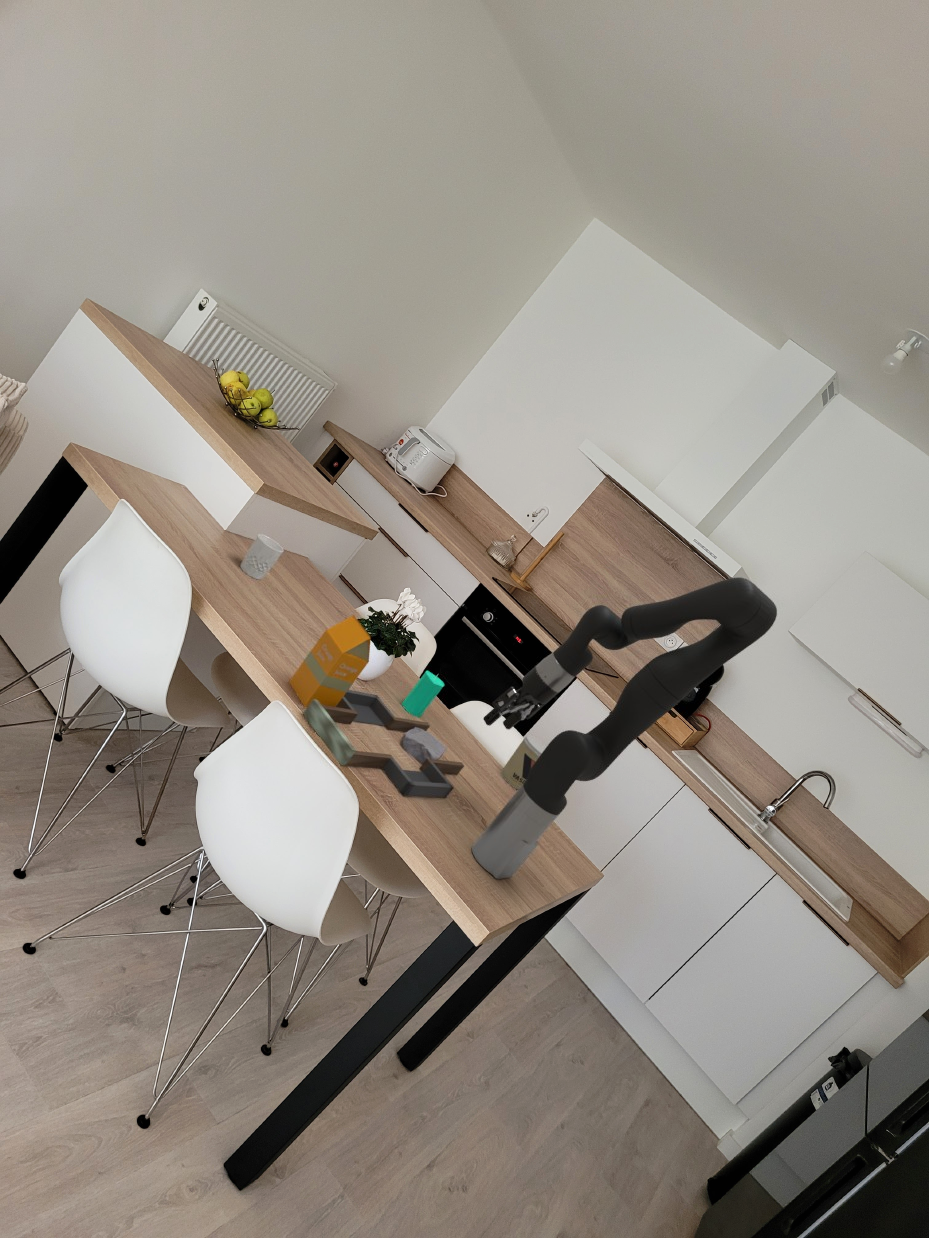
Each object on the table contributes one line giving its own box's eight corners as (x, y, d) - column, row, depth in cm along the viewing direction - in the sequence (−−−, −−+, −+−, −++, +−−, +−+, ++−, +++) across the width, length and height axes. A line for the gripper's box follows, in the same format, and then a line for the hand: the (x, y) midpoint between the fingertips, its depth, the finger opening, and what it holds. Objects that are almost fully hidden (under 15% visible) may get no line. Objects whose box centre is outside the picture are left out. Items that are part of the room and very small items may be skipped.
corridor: (457, 775, 194) (467, 762, 193) (340, 765, 161) (352, 750, 160) (420, 731, 202) (429, 719, 202) (302, 713, 169) (313, 699, 168)
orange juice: (304, 706, 173) (357, 632, 168) (288, 681, 178) (339, 609, 174) (331, 713, 178) (384, 642, 174) (315, 688, 184) (366, 619, 180)
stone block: (393, 752, 187) (432, 772, 186) (402, 733, 186) (441, 754, 185) (405, 740, 199) (441, 759, 198) (413, 722, 198) (450, 742, 197)
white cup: (232, 563, 219) (252, 533, 217) (247, 563, 226) (266, 534, 224) (254, 581, 217) (275, 551, 215) (268, 580, 225) (288, 551, 223)
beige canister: (503, 783, 209) (532, 748, 206) (494, 763, 217) (522, 729, 215) (531, 798, 213) (559, 763, 210) (521, 777, 221) (548, 744, 219)
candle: (398, 702, 210) (425, 666, 207) (408, 701, 215) (435, 666, 213) (414, 718, 208) (442, 681, 205) (424, 716, 213) (451, 681, 211)
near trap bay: (446, 797, 179) (454, 787, 179) (403, 795, 167) (411, 785, 166) (425, 772, 184) (433, 762, 183) (381, 768, 171) (390, 758, 170)
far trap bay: (387, 726, 192) (395, 717, 191) (344, 720, 180) (351, 709, 179) (369, 704, 196) (376, 695, 196) (325, 696, 184) (333, 686, 183)
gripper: (543, 686, 169) (487, 735, 174) (572, 695, 181) (520, 740, 185) (524, 659, 173) (470, 707, 177) (554, 669, 184) (503, 714, 189)
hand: (495, 724), depth 181 cm, fingers open, 8 cm apart
